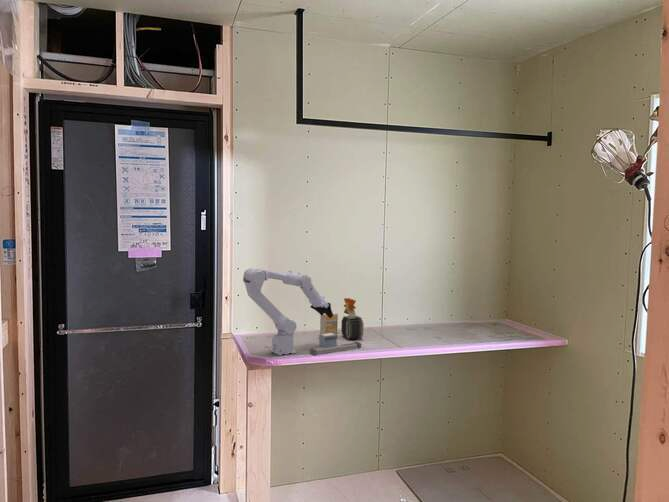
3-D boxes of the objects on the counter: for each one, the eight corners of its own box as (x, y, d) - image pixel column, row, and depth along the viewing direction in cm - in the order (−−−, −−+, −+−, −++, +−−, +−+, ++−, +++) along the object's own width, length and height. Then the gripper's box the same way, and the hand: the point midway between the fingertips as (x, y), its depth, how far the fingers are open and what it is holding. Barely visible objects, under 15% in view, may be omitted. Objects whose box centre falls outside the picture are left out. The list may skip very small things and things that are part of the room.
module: (324, 347, 230) (324, 336, 230) (319, 345, 234) (319, 334, 234) (336, 345, 234) (336, 334, 234) (330, 343, 238) (331, 332, 238)
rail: (314, 355, 215) (314, 350, 215) (310, 353, 219) (310, 348, 219) (361, 348, 230) (361, 343, 230) (356, 346, 233) (356, 341, 233)
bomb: (349, 340, 244) (350, 302, 243) (339, 335, 257) (340, 298, 256) (363, 339, 247) (363, 301, 246) (352, 334, 260) (353, 298, 259)
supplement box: (324, 339, 246) (325, 314, 245) (319, 338, 250) (320, 313, 249) (337, 338, 251) (338, 313, 250) (332, 336, 254) (332, 312, 254)
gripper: (326, 291, 223) (341, 312, 228) (310, 287, 235) (324, 307, 240) (316, 301, 220) (331, 322, 225) (300, 297, 232) (315, 316, 237)
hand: (327, 315), depth 233 cm, fingers open, 7 cm apart
